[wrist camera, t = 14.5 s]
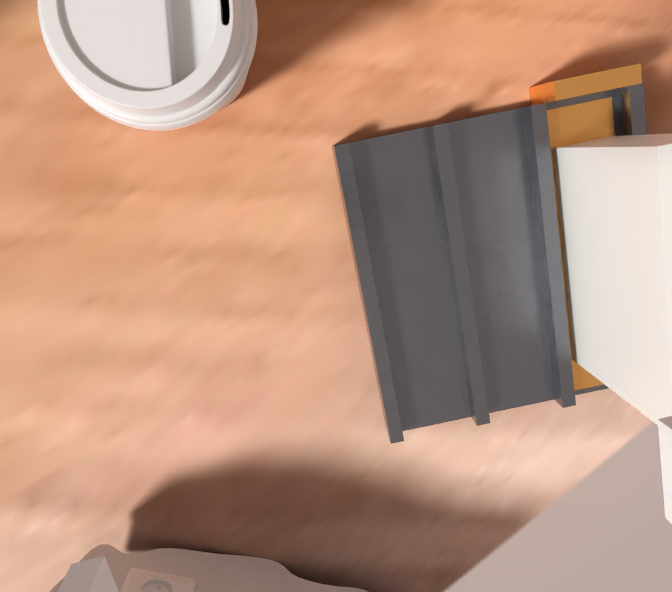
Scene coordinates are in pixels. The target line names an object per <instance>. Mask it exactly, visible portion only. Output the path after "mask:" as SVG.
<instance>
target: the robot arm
mask: <svg viewBox="0 0 672 592" xmlns="http://www.w3.org/2000/svg"><path fill="white" fill-rule="evenodd" d="M658 428H659V441H660V454H661V466H662V480H663V492H664V505H665V517H666V519H667V520H668V521H669V522H670V523H671V524H672V416H668V417H664V418H660V419H658ZM57 592H119V591H118V588H117V586H116V584H115V581H114V579H113V576H112V574H111V571H110V569H109V566H108V564H107V561H106V559H105V556H102V557H98V558H94V559H90V560H86V561H82V562H78V563H74V564H71V566H70V568H69V570H68V572H67V574H66V576H65V578H64V580H63V582H62V584H61V586H60V587H59V589H58V591H57Z"/></svg>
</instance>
